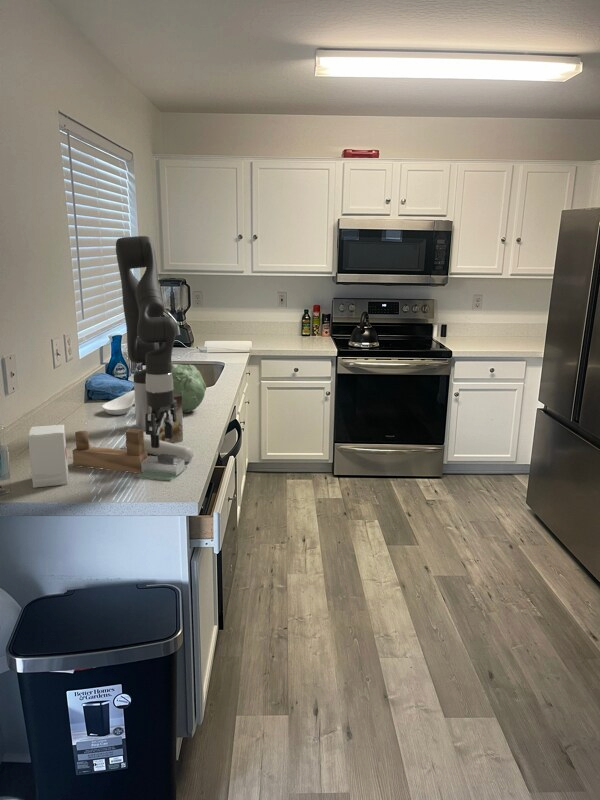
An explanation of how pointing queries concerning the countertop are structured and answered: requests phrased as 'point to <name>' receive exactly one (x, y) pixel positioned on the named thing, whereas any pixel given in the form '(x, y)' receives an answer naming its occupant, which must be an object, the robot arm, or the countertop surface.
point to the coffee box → (177, 425)
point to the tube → (168, 449)
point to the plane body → (111, 453)
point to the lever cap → (163, 464)
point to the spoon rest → (120, 404)
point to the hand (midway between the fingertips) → (162, 442)
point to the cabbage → (188, 386)
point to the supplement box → (48, 455)
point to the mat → (157, 476)
